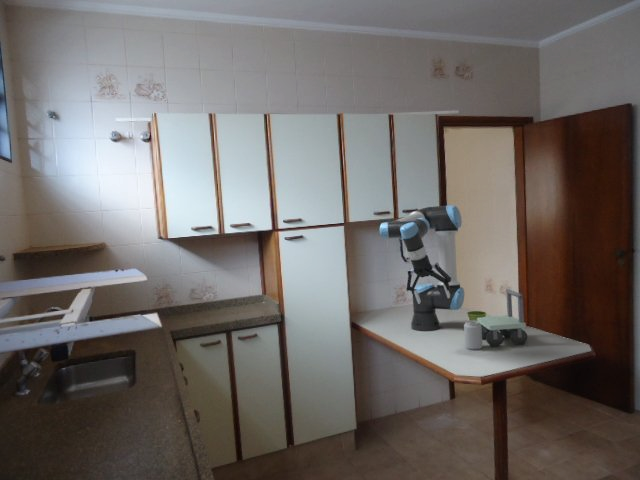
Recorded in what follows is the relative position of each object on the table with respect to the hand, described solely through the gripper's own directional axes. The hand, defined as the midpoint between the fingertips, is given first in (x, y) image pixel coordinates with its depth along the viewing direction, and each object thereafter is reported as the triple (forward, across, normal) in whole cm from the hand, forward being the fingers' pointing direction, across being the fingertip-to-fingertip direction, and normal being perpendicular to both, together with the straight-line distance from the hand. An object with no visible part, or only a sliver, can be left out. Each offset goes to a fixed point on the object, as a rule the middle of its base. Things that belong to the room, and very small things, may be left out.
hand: (434, 299), depth 205 cm
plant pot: (+35, +7, +30) cm, 47 cm away
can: (+27, +10, 0) cm, 29 cm away
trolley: (+32, +20, +11) cm, 40 cm away
